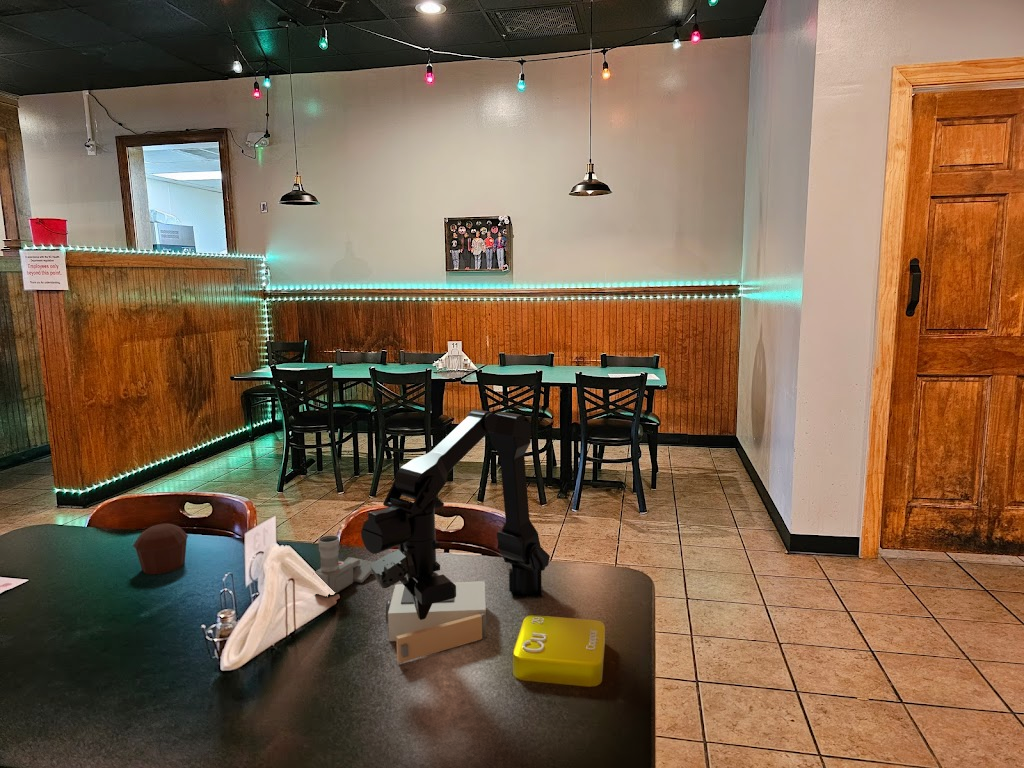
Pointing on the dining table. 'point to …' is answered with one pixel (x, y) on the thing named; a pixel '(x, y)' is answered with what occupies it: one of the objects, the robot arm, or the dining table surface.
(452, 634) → the side door
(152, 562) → the muffin
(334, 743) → the dining table surface
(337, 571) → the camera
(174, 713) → the dining table surface
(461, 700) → the dining table surface
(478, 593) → the white box
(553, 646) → the element tile
